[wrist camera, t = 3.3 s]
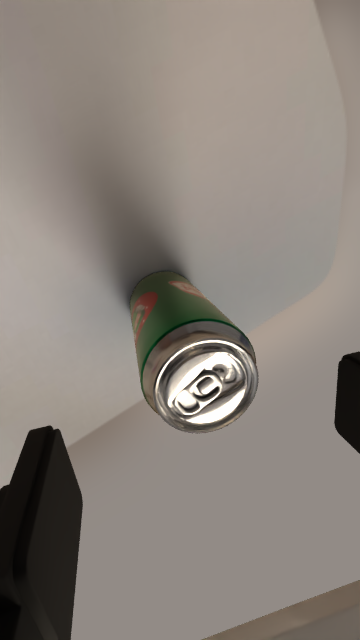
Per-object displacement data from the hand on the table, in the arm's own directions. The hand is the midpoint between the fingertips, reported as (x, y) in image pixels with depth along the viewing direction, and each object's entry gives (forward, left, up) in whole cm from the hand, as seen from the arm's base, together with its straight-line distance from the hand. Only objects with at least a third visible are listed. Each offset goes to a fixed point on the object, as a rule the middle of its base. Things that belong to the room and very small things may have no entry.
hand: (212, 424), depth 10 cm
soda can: (0, 0, -14) cm, 14 cm away
